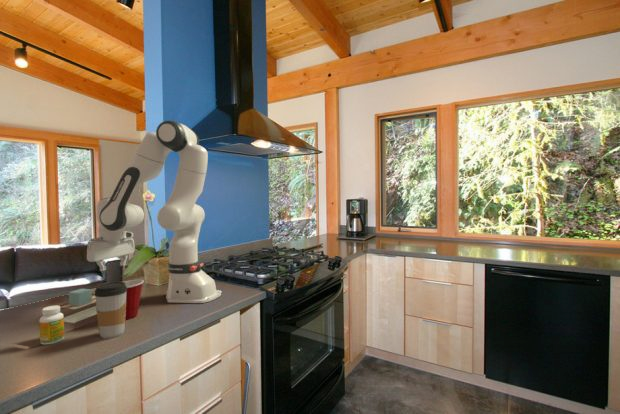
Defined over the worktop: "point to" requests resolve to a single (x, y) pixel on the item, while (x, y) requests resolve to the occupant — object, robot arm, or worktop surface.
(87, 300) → the teal block
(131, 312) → the plastic cup
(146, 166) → the robot arm
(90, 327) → the worktop surface
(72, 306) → the oak strip
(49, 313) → the supplement bottle
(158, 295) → the worktop surface
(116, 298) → the coffee cup
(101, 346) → the worktop surface
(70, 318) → the grey block
